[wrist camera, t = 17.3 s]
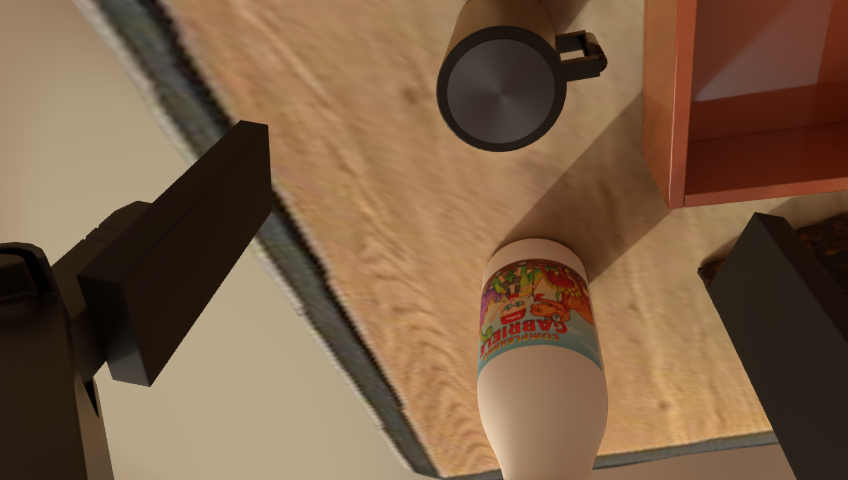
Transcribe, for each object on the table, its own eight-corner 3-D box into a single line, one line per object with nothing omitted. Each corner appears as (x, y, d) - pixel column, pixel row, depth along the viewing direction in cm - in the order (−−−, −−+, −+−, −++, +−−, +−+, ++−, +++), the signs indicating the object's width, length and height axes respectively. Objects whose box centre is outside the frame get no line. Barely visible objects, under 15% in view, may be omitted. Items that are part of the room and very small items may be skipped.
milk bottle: (606, 281, 39) (675, 568, 23) (526, 326, 43) (536, 600, 27) (542, 216, 37) (568, 487, 21) (462, 270, 41) (432, 535, 24)
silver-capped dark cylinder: (463, 91, 32) (449, 160, 25) (446, -5, 29) (423, 40, 22) (588, 70, 31) (615, 137, 23) (583, -34, 28) (613, 2, 20)
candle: (693, 265, 37) (744, 374, 29) (855, 203, 33) (967, 310, 25) (740, 353, 42) (795, 468, 34) (889, 307, 37) (994, 428, 29)
